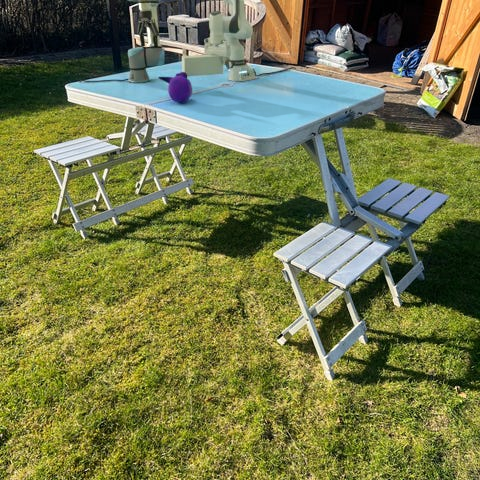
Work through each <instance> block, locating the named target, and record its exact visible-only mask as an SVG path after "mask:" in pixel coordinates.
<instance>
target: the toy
mask: <svg viewBox="0 0 480 480" xmlns="http://www.w3.org/2000/svg"><path fill="white" fill-rule="evenodd" d="M158 79H159V80H161V81H163V82H164V83H167V84H168V85H167V86H168V87H167V91H168V95H169V98H170V99H171V100H172V101H173V102H176V103H187V101H188V100H189V99H190V98H191V97H192V95H193V85H192V83H191V81H190V80H189V78H188V76H187V74H186V73H185V72H182V71H181V72H178V73H177V72H176V74H175V76H158Z"/></svg>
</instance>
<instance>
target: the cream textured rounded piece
mask: <svg viewBox="0 0 480 480" xmlns="http://www.w3.org/2000/svg"><path fill="white" fill-rule="evenodd" d="M229 59H230V57H226V60H225V64H223V66H225V68H226V69H227V71H228V70H230V67H229Z"/></svg>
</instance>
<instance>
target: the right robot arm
mask: <svg viewBox="0 0 480 480" xmlns="http://www.w3.org/2000/svg"><path fill="white" fill-rule="evenodd" d="M221 1H222V2H224V3H226V4H228V13H229V15H224V16H223V12H222V11H220V10H214V11H211V12H210V13H209V17H208V18H209V19H208V21H209V22H208V26H209V27H208V28H209V37H207V38H204V40H203V42H204V55H210V54H212V55H216V56H221V57H222V58H223V61H222V64H223V65H224V64H225V60H226V57H230V59H229V67H230V70H228V69H227V71H228V77H227V80H228V81H232V82H247V81H253V80H258V77H260V76H261V77H262V76H264V75H272V74H273V75H274V74H277V73H282V72H285V71H290V70H292V69H294V70H297V68H296V67H295V66H293V67H292V66H291V67H289V68H285V69H282V70H277V71H269V72H262V73H259V74H257V73H256V70H255V68H252V67H251V66H249V64H248V63H250V60H249V59H245V47H244V46H243V45H242V43H240V41H239V40H248V39H251V38H252V37H253V34H254V28H253V26H252V24H251V23H250V22H249V21H248V19H247V16H246V12H245V11H246V10H245V0H221Z"/></svg>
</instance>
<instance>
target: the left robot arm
mask: <svg viewBox="0 0 480 480" xmlns="http://www.w3.org/2000/svg"><path fill="white" fill-rule="evenodd" d="M127 1H129V2H133V3H137V4H138V11H139V17H140V18H138V20H137V21H138V24H137V31H136V34H137V35H138V36H139V40H140V46H138V47H132V48H130V49H128V50H127V56H128V64H129V65H128V66H129V76H128V78H124V79H99V80H86V79H80V80H79V81H78V83H81V82H84V83H101V82H125V81H128V82H129V83H133V84H141V83H148V82H150V76H149V74H148V71H147V67H158V66H163V65H165V52H166V51H165V50H166V49H165V48H163V45H162V44H161V41H160V31H159V19H158V10H157V9H158V6H159V2H161V0H127ZM145 30H146V37H147V44H146V40H145V35H144V33H145ZM144 47H146V48H144Z"/></svg>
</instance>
